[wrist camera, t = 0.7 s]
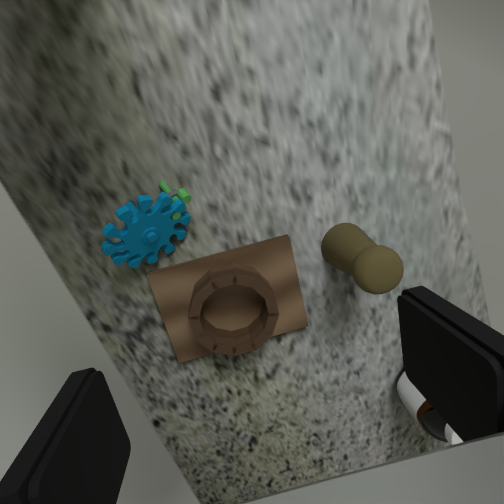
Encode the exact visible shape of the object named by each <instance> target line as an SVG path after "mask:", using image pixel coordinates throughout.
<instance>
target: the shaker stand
mask: <svg viewBox="0 0 504 504" xmlns="http://www.w3.org/2000/svg"><path fill="white" fill-rule="evenodd" d="M147 278H148V281H149V283H150V286H151V289H152V291H153V294H154V297H155V300H156V302H157V305H158V308H159V310H160V313H161V316H162V318H163V321H164V324H165V326H166V329H167V332H168V334H169V337H170V340H171V343H172V345H173V348H174V351H175V353H176V356H177V359H178V361H179V363H181V362H185V361H188V360H192V359H195V358H199V357H202V356H206V355H209V354H213V353H220V354H226V355H232V356H236V355H239V354H243V353H246V352H250V351H253V350H256V349H257V348H258V347H260V346H261V345H262V344H263V343H264V342H265V341H266V340H267V339H268V338H269V337H272V336H276V335H279V334H283V333H286V332H290V331H293V330H297V329H300V328H304V327H307V326H308V322H307V317H306V312H305V308H304V303H303V298H302V294H301V289H300V284H299V280H298V275H297V270H296V266H295V261H294V256H293V252H292V247H291V242H290V238H289V236H288V235H283V236H279V237H276V238H272V239H268V240H264V241H261V242H257V243H253V244H250V245H246V246H242V247H239V248H235V249H231V250H228V251H224V252H220V253H217V254H213V255H209V256H206V257H202V258H198V259H195V260H191V261H187V262H184V263H180V264H176V265H173V266H169V267H165V268H161V269H158V270H154V271H150V272H148V274H147Z"/></svg>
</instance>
